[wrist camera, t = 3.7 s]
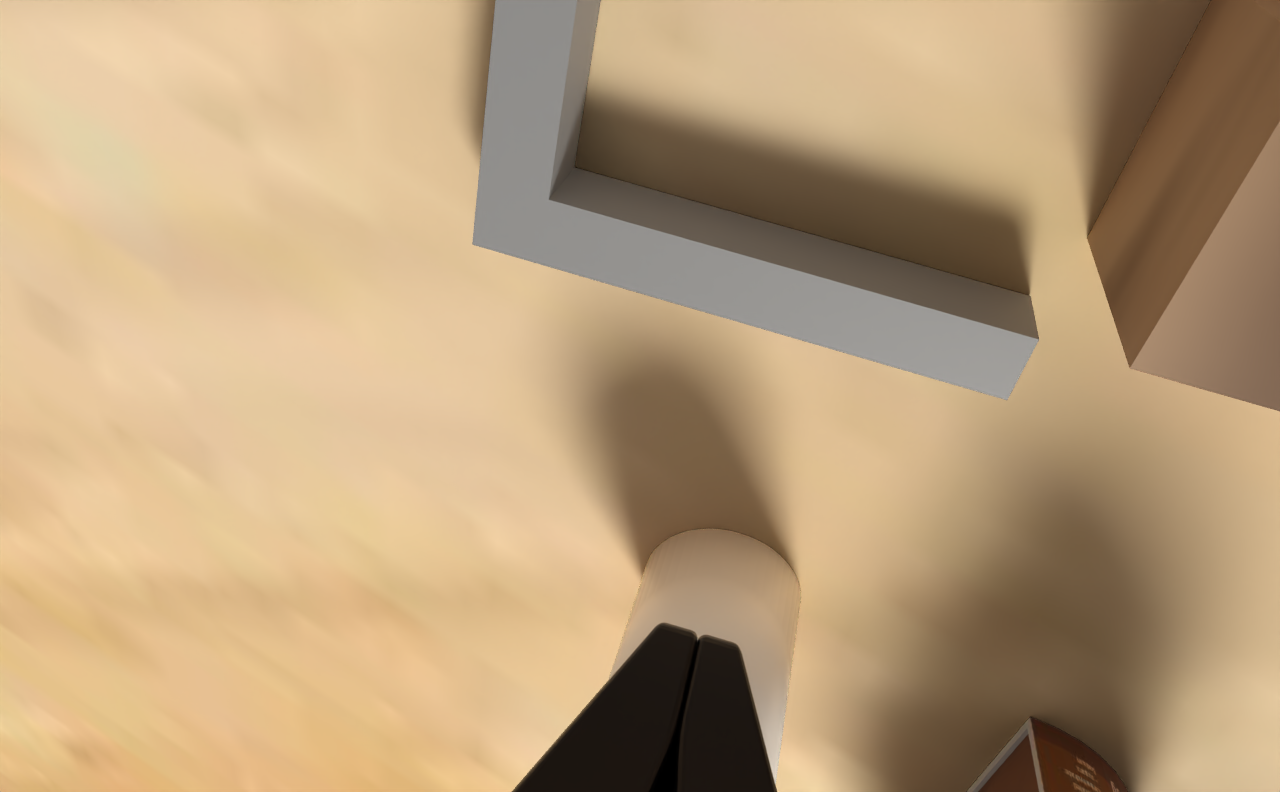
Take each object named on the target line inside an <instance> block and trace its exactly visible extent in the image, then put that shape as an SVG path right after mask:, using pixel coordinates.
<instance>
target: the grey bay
mask: <svg viewBox="0 0 1280 792" xmlns="http://www.w3.org/2000/svg"><path fill="white" fill-rule="evenodd" d="M600 1H601V0H496V1H495V11H494V22H493V32H492V43H491V53H490V64H489V75H488V85H487V96H486V106H485V117H484V128H483V138H482V149H481V159H480V170H479V180H478V191H477V202H476V212H475V223H474V233H473V244H472V245H476V246H479V247H483V248H486V249H490V250H493V251H496V252H500V253H503V254H507V255H510V256H514V257H517V258H520V259H524V260H527V261H531V262H534V263H538V264H541V265H545V266H548V267H551V268H555V269H558V270H562V271H565V272H569V273H572V274H575V275H579V276H582V277H586V278H589V279H593V280H596V281H599V282H603V283H606V284H610V285H613V286H617V287H620V288H623V289H627V290H630V291H634V292H637V293H641V294H644V295H648V296H651V297H654V298H658V299H661V300H665V301H668V302H672V303H675V304H678V305H682V306H685V307H689V308H692V309H696V310H699V311H702V312H706V313H709V314H713V315H716V316H720V317H723V318H726V319H730V320H733V321H737V322H740V323H744V324H747V325H751V326H754V327H757V328H761V329H764V330H768V331H771V332H775V333H778V334H781V335H785V336H788V337H792V338H795V339H799V340H802V341H805V342H809V343H812V344H816V345H819V346H823V347H826V348H829V349H833V350H836V351H840V352H843V353H847V354H850V355H854V356H857V357H860V358H864V359H867V360H871V361H874V362H878V363H881V364H884V365H888V366H891V367H895V368H898V369H902V370H905V371H908V372H912V373H915V374H919V375H922V376H926V377H929V378H933V379H936V380H939V381H943V382H946V383H950V384H953V385H957V386H960V387H963V388H967V389H970V390H974V391H977V392H981V393H984V394H987V395H991V396H994V397H998V398H1001V399H1005V400H1008V398H1009V396H1010V394H1011V392H1012V390H1013V388H1014V386H1015V384H1016V382H1017V381H1018V379H1019V377H1020V375H1021V373H1022V371H1023V369H1024V367H1025V365H1026V363H1027V361H1028V360H1029V358H1030V356H1031V354H1032V352H1033V350H1034V348H1035V346H1036V344H1037V342H1038V341H1039V337H1038V332H1037V327H1036V321H1035V316H1034V311H1033V306H1032V301H1031V296H1029V295H1025V294H1022V293H1018V292H1015V291H1011V290H1008V289H1004V288H1000V287H997V286H993V285H990V284H986V283H983V282H979V281H976V280H972V279H968V278H965V277H961V276H958V275H954V274H951V273H947V272H944V271H940V270H937V269H933V268H929V267H926V266H922V265H919V264H915V263H912V262H908V261H905V260H901V259H898V258H894V257H890V256H887V255H883V254H880V253H876V252H873V251H869V250H866V249H862V248H858V247H855V246H851V245H848V244H844V243H841V242H837V241H834V240H830V239H827V238H823V237H819V236H816V235H812V234H809V233H805V232H802V231H798V230H795V229H791V228H788V227H784V226H780V225H777V224H773V223H770V222H766V221H763V220H759V219H756V218H752V217H749V216H745V215H741V214H738V213H734V212H731V211H727V210H724V209H720V208H717V207H713V206H709V205H706V204H702V203H699V202H695V201H692V200H688V199H685V198H681V197H678V196H674V195H670V194H667V193H663V192H660V191H656V190H653V189H649V188H646V187H642V186H639V185H635V184H631V183H628V182H624V181H621V180H617V179H614V178H610V177H607V176H603V175H599V174H596V173H592V172H589V171H585V170H582V169H578V168H575V167H574V166H575V160H576V154H577V147H578V141H579V135H580V128H581V122H582V115H583V109H584V103H585V96H586V90H587V84H588V77H589V71H590V65H591V58H592V52H593V45H594V39H595V33H596V26H597V20H598V14H599V7H600Z"/></svg>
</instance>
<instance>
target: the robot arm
mask: <svg viewBox="0 0 1280 792" xmlns="http://www.w3.org/2000/svg"><path fill="white" fill-rule="evenodd" d="M697 639H698V637H697V634H696V633H695V632H694V631H692V630H690V629H686V628H683V627H679V626H676V625H672V624H669V623H664V622H663V623H660V624H658V625H657V626H655V627H654V628H653V630H652V631H651V632H650V633H649V634H648V635H647V637H646V638H645V639H644V640H643V641H642V642H641V643H640V645H639V646H638V647H637V648H636V649H635V650H634V652H633V653H632V654H631V655H630V656H629V657H628V658H627V660H626V661H625V662H624V663H623V664H622V665H621V666H620V668H619V669H618V670H617V671H616V672H615V673H614V675H613V676H612V677H611V678H610V679H609V680H608V681H607V683H606V684H605V685H604V686H603V687H602V688H601V690H600V691H599V692H598V693H597V694H596V695H595V696H594V698H593V699H592V700H591V701H590V702H589V703H588V704H587V706H586V707H585V708H584V709H583V710H582V711H581V713H580V714H579V715H578V716H577V717H576V718H575V719H574V721H573V722H572V723H571V724H570V725H569V726H568V728H567V729H566V730H565V731H564V732H563V733H562V734H561V736H560V737H559V738H558V739H557V740H556V741H555V742H554V744H553V745H552V746H551V747H550V748H549V749H548V751H547V752H546V753H545V754H544V755H543V756H542V757H541V759H540V760H539V761H538V762H537V763H536V764H535V766H534V767H533V768H532V769H531V770H530V771H529V772H528V774H527V775H526V776H525V777H524V778H523V779H522V780H521V782H520V783H519V784H518V785H517V786H516V787H515V789H514V790H513V791H512V792H777V789H776V785H775V781H774V777H773V773H772V770H771V766H770V762H769V758H768V754H767V750H766V746H765V742H764V738H763V734H762V730H761V726H760V722H759V718H758V714H757V710H756V706H755V703H754V699H753V695H752V691H751V687H750V683H749V679H748V675H747V671H746V667H745V663H744V659H743V655H742V652H741V650H740V647H739V646H738V645H737V644H736V643H734V642H731V641H727V640H724V639H720V638H717V637H714V636H710V635H702V636H700V637H699V639H698V641H697Z"/></svg>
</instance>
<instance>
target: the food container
mask: <svg viewBox="0 0 1280 792" xmlns="http://www.w3.org/2000/svg"><path fill="white" fill-rule="evenodd" d="M967 792H1128V791H1127V789H1126V787H1125V785H1124V784H1123V782H1122V781H1121V779H1120V778H1119V776H1118V775H1117V773H1116V772H1115V770H1114V769H1113V768H1112V767H1111V766H1110V765H1109V764H1108V763H1107V762H1106V761H1105V760H1104V759H1103V758H1102V757H1101V756H1100V755H1099V754H1097V753H1096V752H1095V751H1093V750H1092V749H1091V748H1089V747H1088V746H1087V745H1085V744H1084V743H1083V742H1081V741H1080V740H1078V739H1076V738H1074V737H1073V736H1071V735H1069V734H1067V733H1065V732H1064V731H1062V730H1060V729H1058V728H1056V727H1054V726H1051V725H1049V724H1046V723H1044V722H1042V721H1039V720H1037V719H1035V718H1032V717H1029V719H1028V720H1027V721H1026V722H1025V723H1024V725H1023V726H1022V727H1021V728H1020V729H1019V730H1018V732H1017V733H1016V734H1015V735H1014V736H1013V737H1012V739H1011V740H1010V741H1009V742H1008V743H1007V745H1006V746H1005V747H1004V748H1003V749H1002V750H1001V752H1000V753H999V754H998V755H997V756H996V757H995V759H994V760H993V761H992V762H991V763H990V765H989V766H988V767H987V768H986V769H985V770H984V772H983V773H982V774H981V775H980V776H979V777H978V779H977V780H976V781H975V782H974V783H973V785H972V786H971V787H970V788H969V789H968V790H967Z"/></svg>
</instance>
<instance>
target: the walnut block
mask: <svg viewBox="0 0 1280 792" xmlns="http://www.w3.org/2000/svg"><path fill="white" fill-rule="evenodd" d="M1087 239H1088V242H1089V245H1090V248H1091V251H1092V254H1093V257H1094V260H1095V264H1096V267H1097V270H1098V273H1099V276H1100V279H1101V282H1102V285H1103V288H1104V291H1105V294H1106V297H1107V300H1108V303H1109V306H1110V309H1111V312H1112V315H1113V318H1114V321H1115V325H1116V328H1117V331H1118V334H1119V337H1120V340H1121V343H1122V346H1123V349H1124V352H1125V355H1126V358H1127V361H1128V364H1129V367H1130V369H1134V370H1137V371H1141V372H1144V373H1148V374H1151V375H1155V376H1158V377H1162V378H1165V379H1169V380H1172V381H1176V382H1179V383H1183V384H1186V385H1190V386H1193V387H1197V388H1200V389H1204V390H1207V391H1211V392H1214V393H1218V394H1221V395H1225V396H1228V397H1232V398H1235V399H1239V400H1242V401H1246V402H1249V403H1253V404H1256V405H1260V406H1263V407H1267V408H1270V409H1274V410H1277V411H1280V0H1211V1H1210V3H1209V5H1208V7H1207V9H1206V11H1205V13H1204V15H1203V17H1202V19H1201V21H1200V23H1199V24H1198V26H1197V28H1196V30H1195V32H1194V34H1193V36H1192V38H1191V40H1190V42H1189V44H1188V46H1187V47H1186V49H1185V51H1184V53H1183V55H1182V57H1181V59H1180V61H1179V63H1178V65H1177V67H1176V69H1175V70H1174V72H1173V74H1172V76H1171V78H1170V80H1169V82H1168V84H1167V86H1166V88H1165V90H1164V92H1163V93H1162V95H1161V97H1160V99H1159V101H1158V103H1157V105H1156V107H1155V109H1154V111H1153V113H1152V115H1151V116H1150V118H1149V120H1148V122H1147V124H1146V126H1145V128H1144V130H1143V132H1142V134H1141V136H1140V138H1139V139H1138V141H1137V143H1136V145H1135V147H1134V149H1133V151H1132V153H1131V155H1130V157H1129V159H1128V161H1127V162H1126V164H1125V166H1124V168H1123V170H1122V172H1121V174H1120V176H1119V178H1118V180H1117V182H1116V184H1115V185H1114V187H1113V189H1112V191H1111V193H1110V195H1109V197H1108V199H1107V201H1106V203H1105V205H1104V207H1103V208H1102V210H1101V212H1100V214H1099V216H1098V218H1097V220H1096V222H1095V224H1094V226H1093V228H1092V230H1091V231H1090V233H1089V235H1088V237H1087Z"/></svg>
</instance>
